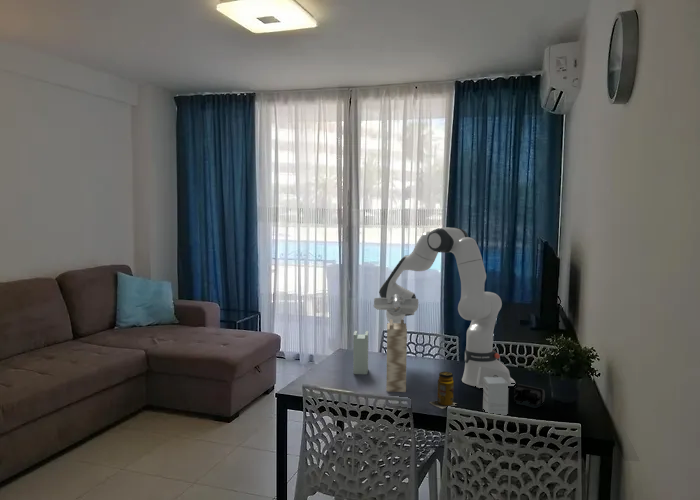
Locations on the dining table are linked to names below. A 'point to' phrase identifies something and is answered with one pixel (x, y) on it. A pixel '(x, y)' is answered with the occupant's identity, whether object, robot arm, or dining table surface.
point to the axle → (396, 302)
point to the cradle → (360, 353)
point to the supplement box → (495, 395)
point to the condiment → (445, 390)
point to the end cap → (529, 394)
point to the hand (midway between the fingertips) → (396, 297)
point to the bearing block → (396, 356)
